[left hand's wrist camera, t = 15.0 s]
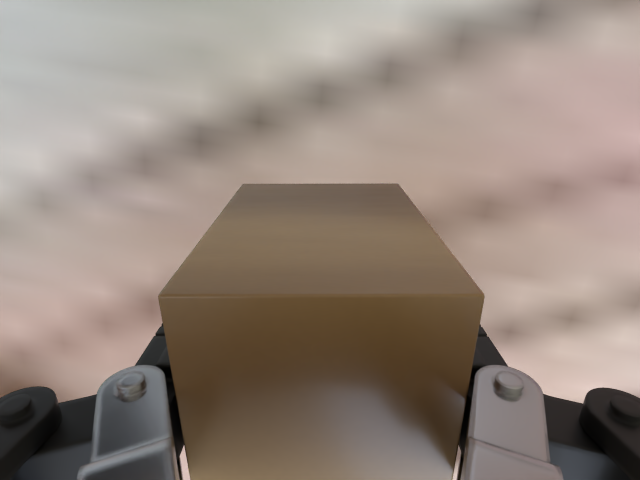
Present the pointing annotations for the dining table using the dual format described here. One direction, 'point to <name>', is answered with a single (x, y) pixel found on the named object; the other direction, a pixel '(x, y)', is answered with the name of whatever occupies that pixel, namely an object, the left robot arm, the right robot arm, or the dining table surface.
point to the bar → (321, 338)
